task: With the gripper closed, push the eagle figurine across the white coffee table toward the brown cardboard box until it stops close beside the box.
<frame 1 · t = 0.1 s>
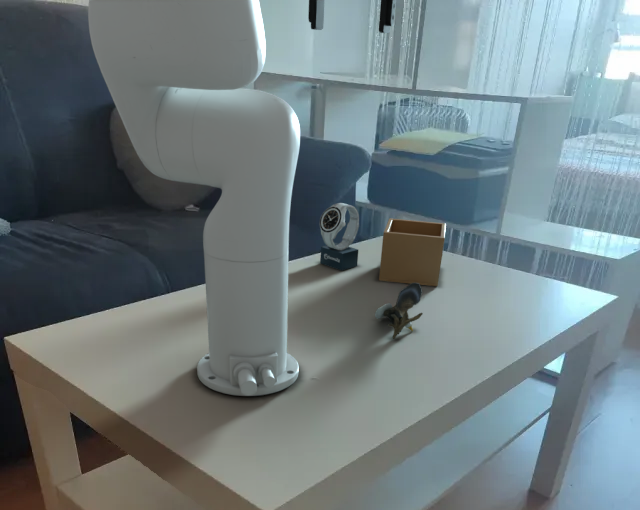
hand: (350, 31, 86), 37 cm above the table, tool pointing down, fingers open, 9 cm apart
box: (409, 274, 116), on the table
watch: (338, 265, 119), on the table
eagle figurine: (398, 330, 94), on the table
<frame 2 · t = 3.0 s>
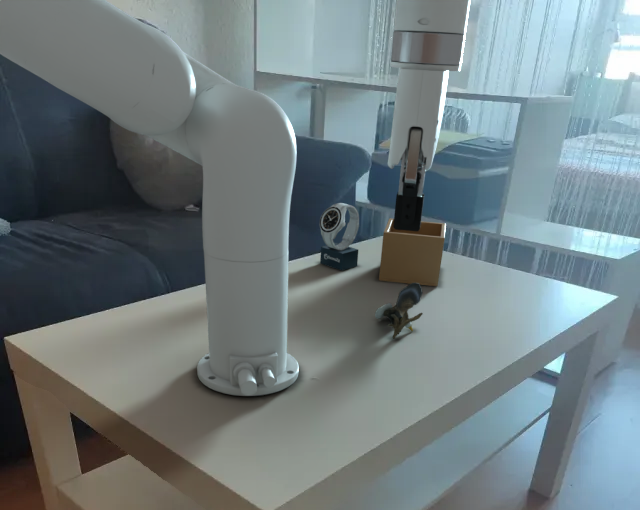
hand: (406, 227, 77), 17 cm above the table, tool pointing down, fingers closed
nothing on the table moved.
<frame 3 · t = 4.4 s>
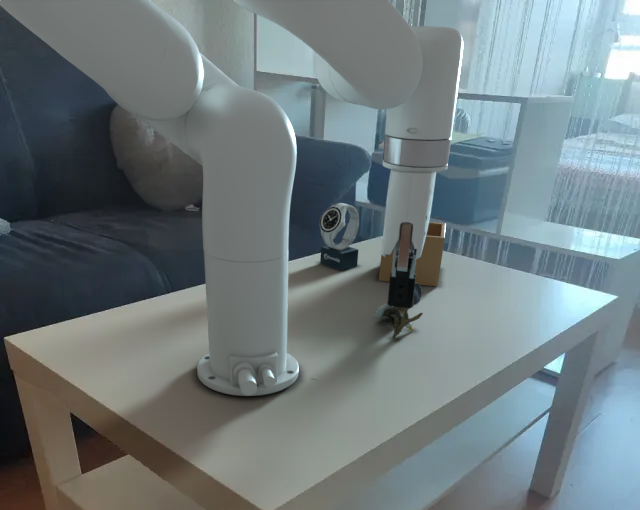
hand: (400, 304, 82), 7 cm above the table, tool pointing down, fingers closed
nothing on the table moved.
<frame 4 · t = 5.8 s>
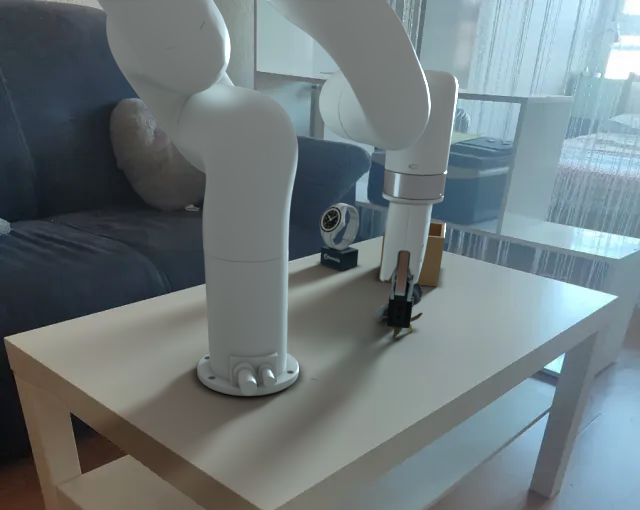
hand: (398, 324, 87), 3 cm above the table, tool pointing down, fingers closed
eagle figurine: (398, 330, 94), on the table, touching gripper
everything else where it was.
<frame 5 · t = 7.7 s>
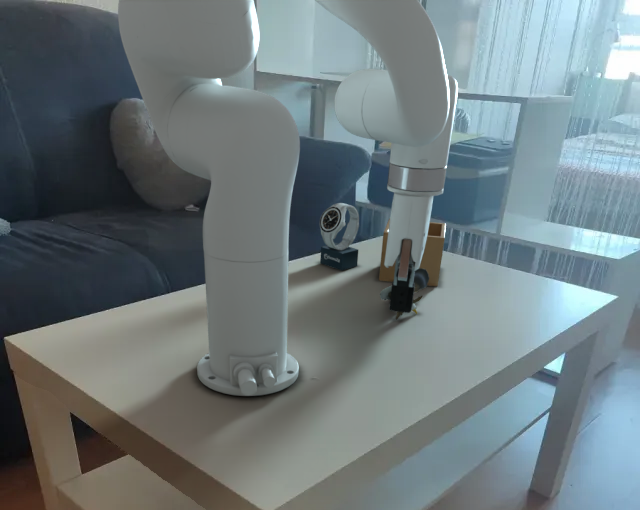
hand: (400, 309, 93), 3 cm above the table, tool pointing down, fingers closed
eagle figurine: (403, 312, 100), on the table, touching gripper
everything else where it was.
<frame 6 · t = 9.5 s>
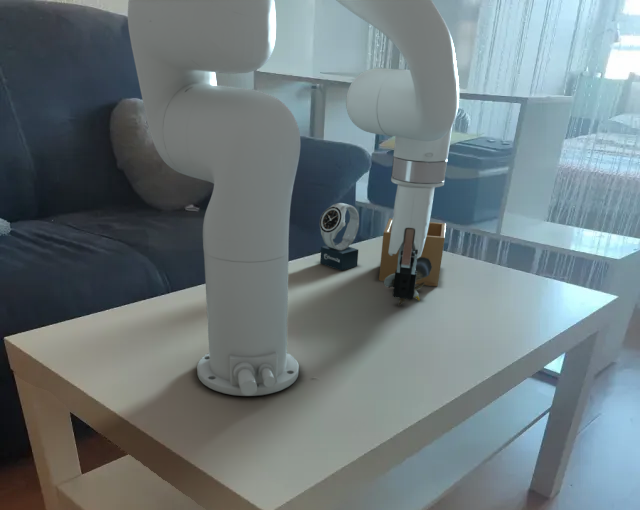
hand: (403, 296, 98), 3 cm above the table, tool pointing down, fingers closed
eagle figurine: (406, 299, 105), on the table, touching gripper
everything else where it was.
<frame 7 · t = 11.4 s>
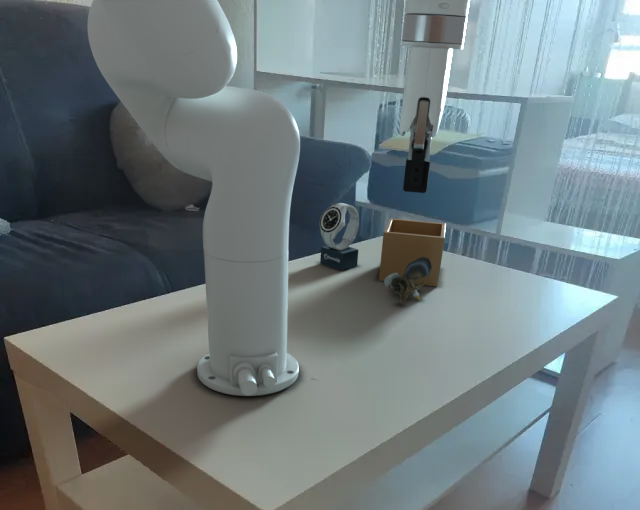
hand: (414, 190, 87), 19 cm above the table, tool pointing down, fingers closed
eagle figurine: (406, 299, 105), on the table
everything else where it was.
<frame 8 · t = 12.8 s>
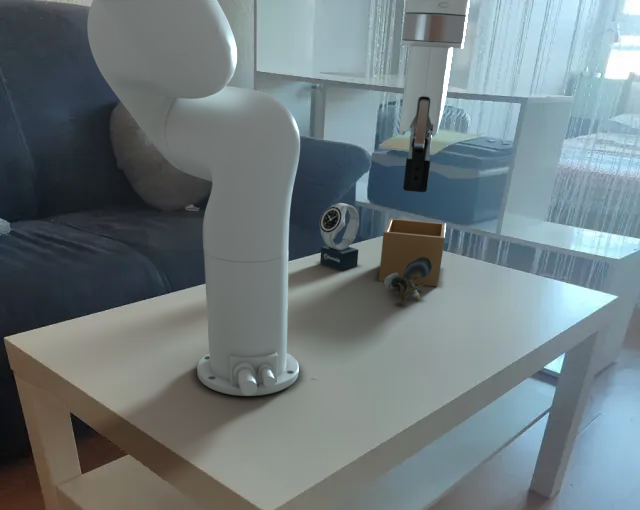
hand: (415, 190, 87), 19 cm above the table, tool pointing down, fingers closed
nothing on the table moved.
at the end: eagle figurine moved 13.7 cm from its start; eagle figurine 12.7 cm from the box (horizontally) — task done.
